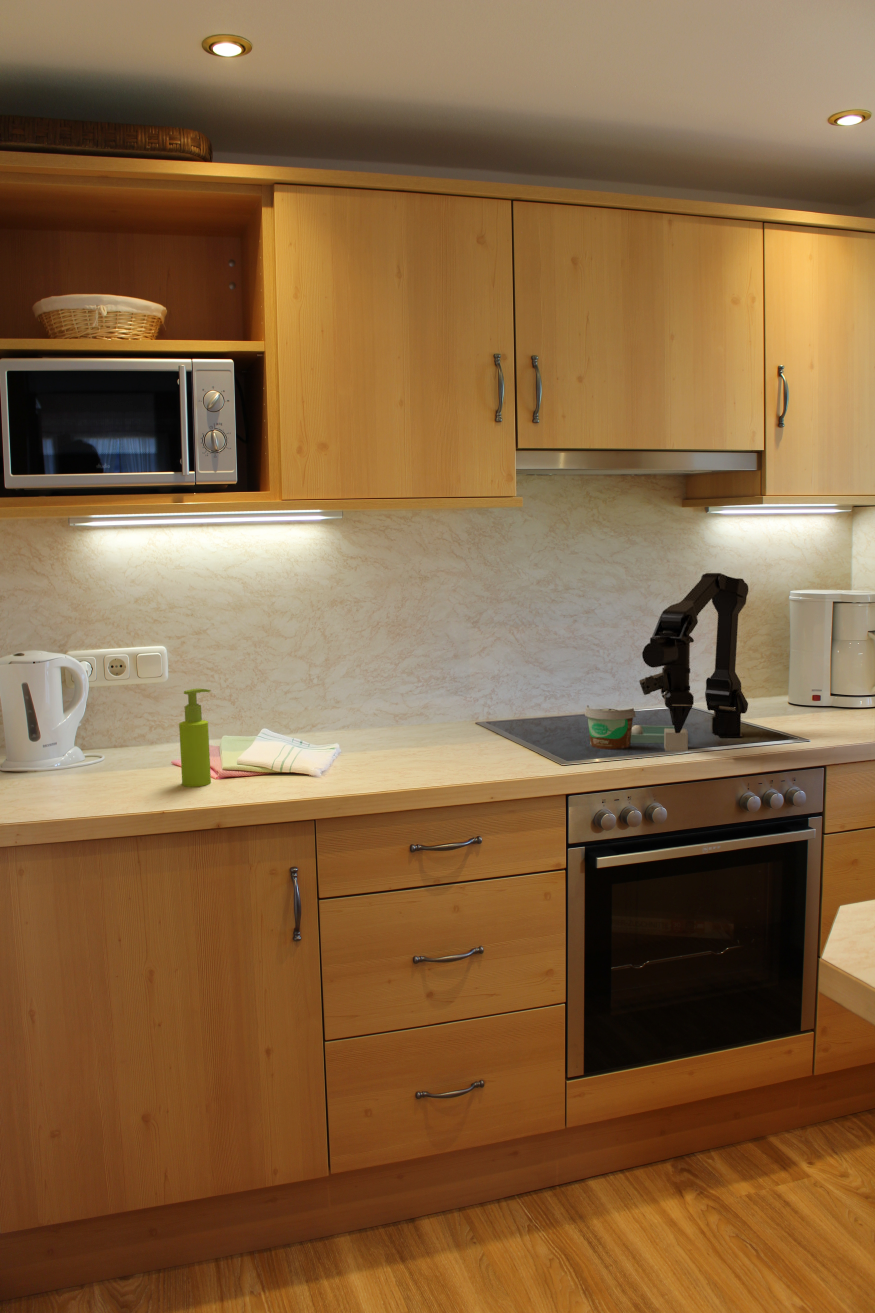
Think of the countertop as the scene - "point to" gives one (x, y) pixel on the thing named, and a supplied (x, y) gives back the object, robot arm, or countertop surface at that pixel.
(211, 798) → the countertop surface
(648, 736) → the tray
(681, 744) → the beige cube
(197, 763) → the soap dispenser
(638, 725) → the pebble
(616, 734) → the food container
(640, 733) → the pebble
